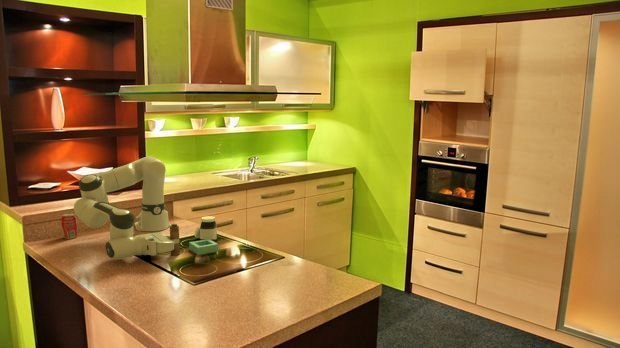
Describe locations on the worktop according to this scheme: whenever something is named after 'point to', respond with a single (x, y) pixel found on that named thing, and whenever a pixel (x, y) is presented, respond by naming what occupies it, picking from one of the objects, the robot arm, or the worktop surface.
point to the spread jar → (207, 229)
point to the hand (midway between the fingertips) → (176, 238)
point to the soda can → (69, 226)
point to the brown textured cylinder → (173, 235)
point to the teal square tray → (203, 246)
